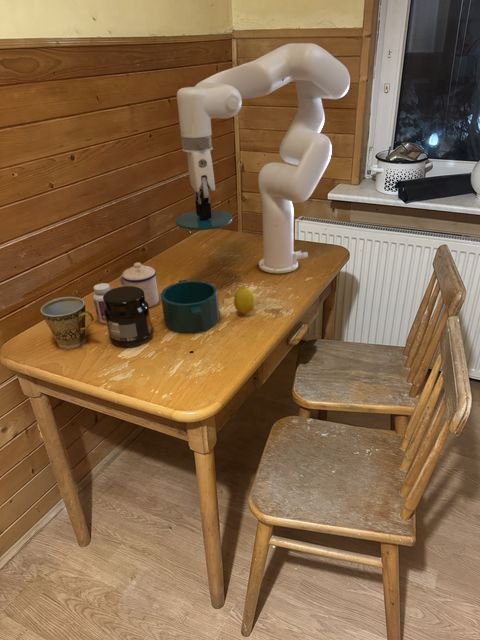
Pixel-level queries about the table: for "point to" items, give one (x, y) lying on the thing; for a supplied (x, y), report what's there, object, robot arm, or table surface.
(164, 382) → the table surface
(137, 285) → the teacup with lid
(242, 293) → the lemon
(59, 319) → the ceramic cup
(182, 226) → the cooker lid
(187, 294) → the cooker
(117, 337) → the supplement container
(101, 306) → the pill bottle
